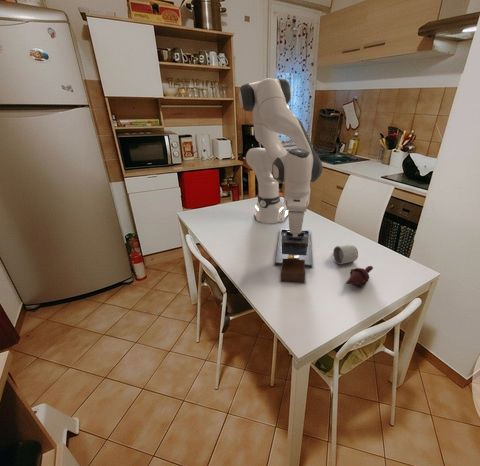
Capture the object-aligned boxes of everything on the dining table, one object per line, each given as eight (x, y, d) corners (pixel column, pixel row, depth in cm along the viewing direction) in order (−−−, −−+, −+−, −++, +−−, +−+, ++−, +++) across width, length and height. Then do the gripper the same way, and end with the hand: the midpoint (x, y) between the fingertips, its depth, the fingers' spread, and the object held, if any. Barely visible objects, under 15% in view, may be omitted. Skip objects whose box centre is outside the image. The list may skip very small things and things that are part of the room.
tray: (311, 268, 109) (311, 264, 108) (275, 265, 110) (275, 262, 109) (309, 233, 136) (309, 230, 135) (280, 231, 137) (280, 228, 137)
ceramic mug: (358, 264, 111) (360, 248, 108) (341, 267, 109) (343, 251, 105) (343, 252, 120) (346, 237, 117) (328, 255, 118) (330, 240, 114)
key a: (298, 250, 117) (298, 251, 117) (293, 249, 118) (293, 249, 119) (291, 258, 113) (291, 259, 113) (286, 257, 114) (286, 258, 114)
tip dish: (308, 240, 94) (309, 231, 96) (281, 238, 95) (281, 230, 97) (306, 255, 108) (306, 247, 109) (281, 254, 109) (282, 246, 110)
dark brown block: (304, 283, 100) (305, 273, 97) (280, 281, 100) (281, 271, 98) (304, 269, 108) (305, 259, 105) (282, 268, 108) (282, 258, 106)
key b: (291, 250, 119) (291, 251, 119) (287, 251, 118) (287, 252, 118) (300, 257, 114) (300, 258, 114) (295, 258, 113) (295, 259, 113)
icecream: (358, 284, 90) (381, 271, 98) (342, 269, 94) (366, 258, 103) (350, 297, 94) (373, 283, 102) (335, 282, 98) (358, 271, 107)
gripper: (289, 189, 101) (288, 222, 107) (286, 208, 82) (285, 246, 88) (305, 189, 100) (303, 223, 106) (306, 208, 82) (304, 247, 88)
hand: (295, 234), depth 97 cm, fingers closed
